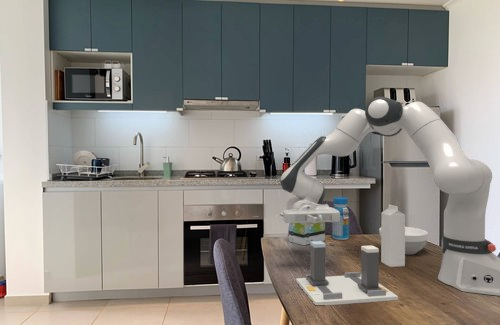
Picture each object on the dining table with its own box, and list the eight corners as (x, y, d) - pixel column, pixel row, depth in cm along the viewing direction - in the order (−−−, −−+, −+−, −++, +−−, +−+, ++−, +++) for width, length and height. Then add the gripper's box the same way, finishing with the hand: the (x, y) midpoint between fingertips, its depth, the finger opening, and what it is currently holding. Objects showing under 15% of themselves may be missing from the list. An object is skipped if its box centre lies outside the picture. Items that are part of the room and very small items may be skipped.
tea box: (304, 246, 150) (304, 213, 150) (288, 241, 158) (288, 210, 158) (325, 240, 160) (325, 210, 160) (309, 237, 168) (309, 207, 167)
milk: (395, 261, 128) (395, 203, 128) (405, 266, 122) (405, 206, 122) (380, 262, 127) (381, 204, 127) (389, 267, 121) (390, 206, 121)
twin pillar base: (365, 277, 111) (365, 270, 111) (398, 299, 93) (398, 291, 93) (296, 281, 107) (296, 274, 107) (315, 306, 89) (315, 297, 89)
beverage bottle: (331, 239, 162) (331, 198, 161) (331, 235, 170) (331, 196, 169) (350, 240, 160) (350, 199, 159) (348, 236, 168) (348, 196, 168)
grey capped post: (322, 278, 106) (322, 240, 106) (328, 284, 101) (328, 244, 101) (307, 279, 105) (307, 241, 105) (312, 285, 100) (312, 245, 100)
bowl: (421, 246, 149) (421, 227, 149) (433, 259, 131) (433, 236, 130) (376, 244, 154) (376, 225, 153) (382, 255, 135) (382, 234, 135)
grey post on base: (373, 285, 100) (373, 244, 100) (382, 291, 95) (382, 249, 95) (357, 286, 100) (357, 245, 99) (366, 292, 95) (366, 250, 94)
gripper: (278, 205, 124) (288, 211, 111) (331, 204, 127) (346, 210, 114) (278, 221, 125) (288, 230, 111) (331, 220, 127) (346, 228, 114)
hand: (318, 220), depth 112 cm, fingers closed
